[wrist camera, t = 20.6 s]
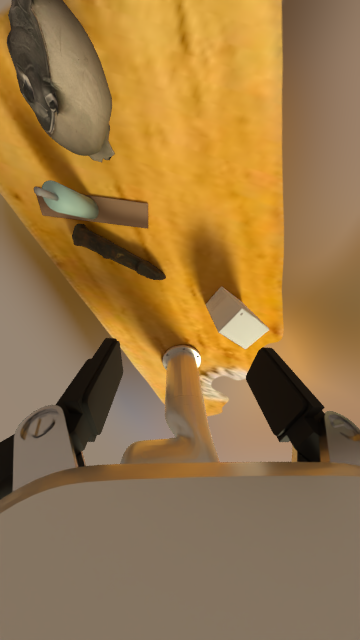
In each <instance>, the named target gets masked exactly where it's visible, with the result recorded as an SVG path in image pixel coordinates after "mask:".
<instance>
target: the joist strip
mask: <svg viewBox="0 0 360 640" xmlns="http://www.w3.org/2000/svg"><path fill="white" fill-rule="evenodd" d="M36 195H37V194H36ZM85 196H87V197H89V198H91V199H92V200H94V201H95V203H96V204H97V206H98V210H99V213H98V216H97V218H95V219H87V218H82V217H77V216H73V215H68V214H64V213H59V212H56V211H54V210H52V209H51V208H50V207H49V206H48V205H47V204H46V202H45V201H44V199H43V197H42V196H39V195H37V198H38V202H39V205H40V208H41V212H42V215H45V216H53V217H61V218H69V219H77V220H85V221H93V222H101V223H109V224H117V225H125V226H133V227H141V228H148V204H147V203H139V202H132V201H125V200H118V199H111V198H104V197H96V196H89V195H85Z"/></svg>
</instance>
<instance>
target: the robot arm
mask: <svg viewBox="0 0 360 640" xmlns="http://www.w3.org/2000/svg"><path fill="white" fill-rule="evenodd" d="M200 363H201V357H200V354H199V352H198V351H197V350H196V349H195V348H193V347H191V346H187V345H178V346H174V347H172V348H170V349H168V350H167V351H166V352H165V354H164V356H163V366H164V368H165V369H166V370H167V377H166V397H165V419H166V422H167V424H168V426H169V428H170V429H171V431H172V432H173V434H174V435H175V438H170V439H159V440H144V441H138V442H134V443H133V444H131V445H130V446H129V447H128V448H127V449H126V451H125V452H124V454H123V457H122V460H121V463H120V464H113V465H94V466H86V463H85V459H84V456H83V452H82V451H83V450H84V449H85V446H86V444H87V442H94V441H95V438H96V436H97V435H100V433H101V432H102V429H103V426H104V423H105V421H106V418H107V416H108V413H109V410H110V407H111V405H112V402H113V399H114V396H115V394H116V391H117V389H118V386H119V383H120V380H121V378H122V375H123V367H122V359H121V351H120V343H119V341H117V340H116V339H114V338H106V339H105V340H104V341H103V343H102V344H101V346H100V347H99V349H98V350H97V352H96V353H95V355H94V356H93V358H92V359H88V360H87V361H86V362H85V364H84V365H83V367H82V368H81V369H80V371H79V372H78V374H77V375H76V377H75V378H74V379H73V381H72V382H71V384H70V385H69V386H68V388H67V389H66V391H65V392H64V394H63V395H62V397H61V398H60V399H59V401H58V402H57V404H56V405H49V406H45V407H42V408H40V409H38V410H36V411H34V412H33V413H31V414H30V415H29V416H27V417H26V418H25V419H24V420H23V421H22V422H21V423H20V424H19V426H18V428H17V429H16V432H15V434H14V435H12V436H10V437H9V438H7V439H5V440H4V441H2V442H0V640H360V430H359V428H358V427H357V426H356V425H355V424H354V423H352V422H351V421H350V420H349V419H347V418H345V417H344V416H342V415H341V414H338V413H336V412H332V411H327V412H326V413H324V412H323V411H322V409H323V408H324V406H323V405H322V404H321V403H320V402H319V401H318V399H317V398H316V397H315V396H314V395H313V394H312V393H311V391H310V390H309V389H308V388H307V387H306V386H305V385H304V384H303V382H302V381H301V380H300V379H299V378H298V377H297V376H296V375H295V373H294V372H293V371H292V370H291V369H290V368H289V367H288V365H287V364H286V363H285V362H284V361H283V360H282V359H281V358H280V356H279V355H278V354H277V353H276V352H275V351H274V350H273V349H272V348H261V349H260V350H259V351H258V353H257V355H256V357H255V359H254V361H253V363H252V365H251V367H250V369H249V371H248V373H247V375H246V380H247V382H248V384H249V386H250V388H251V390H252V392H253V394H254V396H255V398H256V400H257V402H258V404H259V406H260V408H261V410H262V412H263V414H264V416H265V418H266V420H267V422H268V424H269V426H270V428H271V430H272V432H273V433H274V435H276V436H277V438H278V440H279V442H289V441H291V443H292V445H293V449H292V462H223V463H222V462H220V461H219V458H218V455H217V452H216V449H215V446H214V443H213V440H212V437H211V433H210V429H209V425H208V420H207V415H206V410H205V405H204V399H203V394H202V388H201V383H200V377H199V372H198V367H199V366H200Z"/></svg>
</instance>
